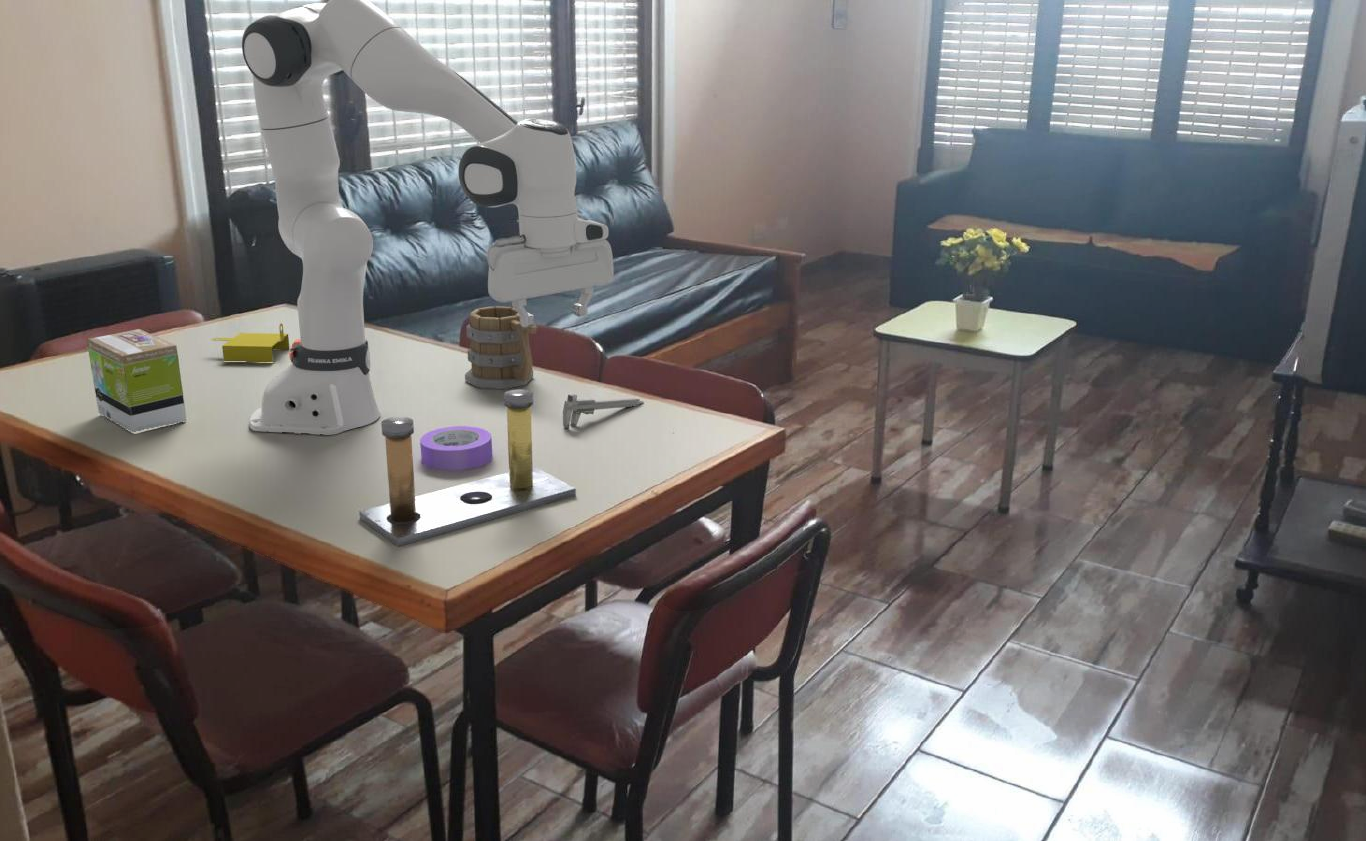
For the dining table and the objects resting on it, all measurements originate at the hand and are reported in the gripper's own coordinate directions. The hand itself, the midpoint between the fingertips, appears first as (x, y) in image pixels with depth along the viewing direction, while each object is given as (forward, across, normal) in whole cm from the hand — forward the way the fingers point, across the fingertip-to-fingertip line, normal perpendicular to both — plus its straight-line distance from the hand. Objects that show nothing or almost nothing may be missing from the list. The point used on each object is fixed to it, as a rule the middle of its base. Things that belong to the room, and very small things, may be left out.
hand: (554, 320), depth 184 cm
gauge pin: (+24, -9, -3) cm, 26 cm away
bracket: (+26, -21, +96) cm, 102 cm away
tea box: (+24, -49, +65) cm, 85 cm away
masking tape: (+26, -11, +17) cm, 32 cm away
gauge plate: (+25, -18, -3) cm, 31 cm away
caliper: (+27, +22, +22) cm, 41 cm away
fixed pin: (+23, -29, -4) cm, 37 cm away
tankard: (+27, +16, +48) cm, 58 cm away
